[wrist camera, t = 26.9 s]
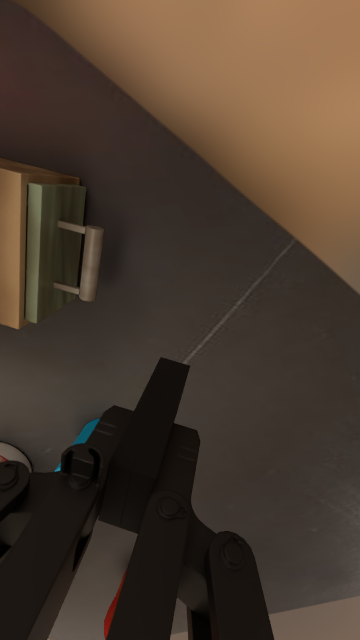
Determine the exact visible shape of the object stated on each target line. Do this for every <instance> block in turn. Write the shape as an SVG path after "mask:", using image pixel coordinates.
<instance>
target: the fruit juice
mask: <svg viewBox="0 0 360 640" xmlns="http://www.w3.org/2000/svg"><path fill="white" fill-rule="evenodd" d="M7 460H14V461H19V462H22V463H24V464H25V465H26V466H27V467H28V468H29V471H30V473H32V469H31V465H30V463H29V461H28V459H27V458H26V457H25V456H24V454H23V453H21V452H20V451H19V450H18V449H16V448H15V447H13V446H11V445H8V444H5V443H1V442H0V462H3V461H7Z"/></svg>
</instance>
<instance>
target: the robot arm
mask: <svg viewBox="0 0 360 640" xmlns="http://www.w3.org/2000/svg"><path fill="white" fill-rule="evenodd" d="M189 368H190V366H189V365H185V364H182V363H179V362H175V361H172V360H169V359H165V358H162V357H161V358H160V360H159V362H158V364H157V366H156V368H155V370H154V372H153V374H152V376H151V378H150V380H149V382H148V384H147V386H146V388H145V390H144V392H143V394H142V396H141V398H140V400H139V402H138V404H137V406H136V408H135V410H134V411H131V410H128V409H125V408H122V407H118V406H115V405H114V406H112V407H111V408H109V409H108V410H107V411H105V412H104V414H103V415H102V417H101V418H100V420H99V422H98V423H97V425H96V426H95V428H94V430H93V431H92V433H91V434H90V436H89V438H88V439H87V441H86V442H85V443H80V444H75V445H73V446H71V447H69V448H67V449H66V450H65V451H64V452H63V453H62V457H61V467H60V471H56V472H50V473H30V471H29V468H28V467H27V466H26V465H25V464H24V463H22V462H19V461H14V460H7V461H3V462H0V640H47V639H48V636H49V634H50V632H51V629H52V627H53V625H54V622H55V620H56V618H57V616H58V613H59V611H60V609H61V606H62V604H63V602H64V599H65V597H66V595H67V592H68V590H69V588H70V586H71V583H72V581H73V579H74V576H75V574H76V572H77V569H78V567H79V565H80V562H81V560H82V558H83V555H84V553H85V551H86V549H87V546H88V544H89V542H90V539H91V536H92V532H93V527H94V524H95V522H96V520H97V518H98V515H99V518H98V520H99V521H102V522H105V523H108V524H111V525H114V526H117V527H120V528H122V529H125V530H128V531H131V532H134V533H137V534H138V536H137V539H136V543H135V546H134V549H133V552H132V556H131V559H130V562H129V566H128V569H127V572H126V575H125V579H124V582H123V585H122V588H121V592H120V595H119V598H118V601H117V605H116V608H115V611H114V614H113V618H112V621H111V624H110V627H109V631H108V634H107V637H106V640H170V635H171V629H172V623H173V617H174V611H175V605H176V599H177V597H178V598H179V599H180V600H181V601H182V602H183V603H184V604H186V605H187V623H188V640H274V637H273V633H272V628H271V624H270V620H269V616H268V611H267V607H266V603H265V599H264V595H263V590H262V586H261V582H260V578H259V574H258V570H257V565H256V561H255V557H254V555H253V552H252V550H251V547H250V546H249V545H248V544H247V542H246V541H245V540H244V539H243V538H242V537H240V536H239V535H237V534H236V533H233V532H229V531H224V532H219V533H218V534H216V533H215V532H213V531H212V530H211V529H209V528H208V527H206V526H205V525H204V524H203V523H202V522H201V521H200V520H199V519H198V518H197V516H196V515H195V513H194V511H193V509H192V505H191V494H192V488H193V482H194V476H195V470H196V464H197V458H198V452H199V446H200V439H199V435H198V432H197V430H194V429H191V428H188V427H185V426H181V425H178V424H175V423H174V421H175V417H176V414H177V410H178V407H179V403H180V400H181V396H182V393H183V389H184V386H185V382H186V379H187V375H188V372H189Z"/></svg>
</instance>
